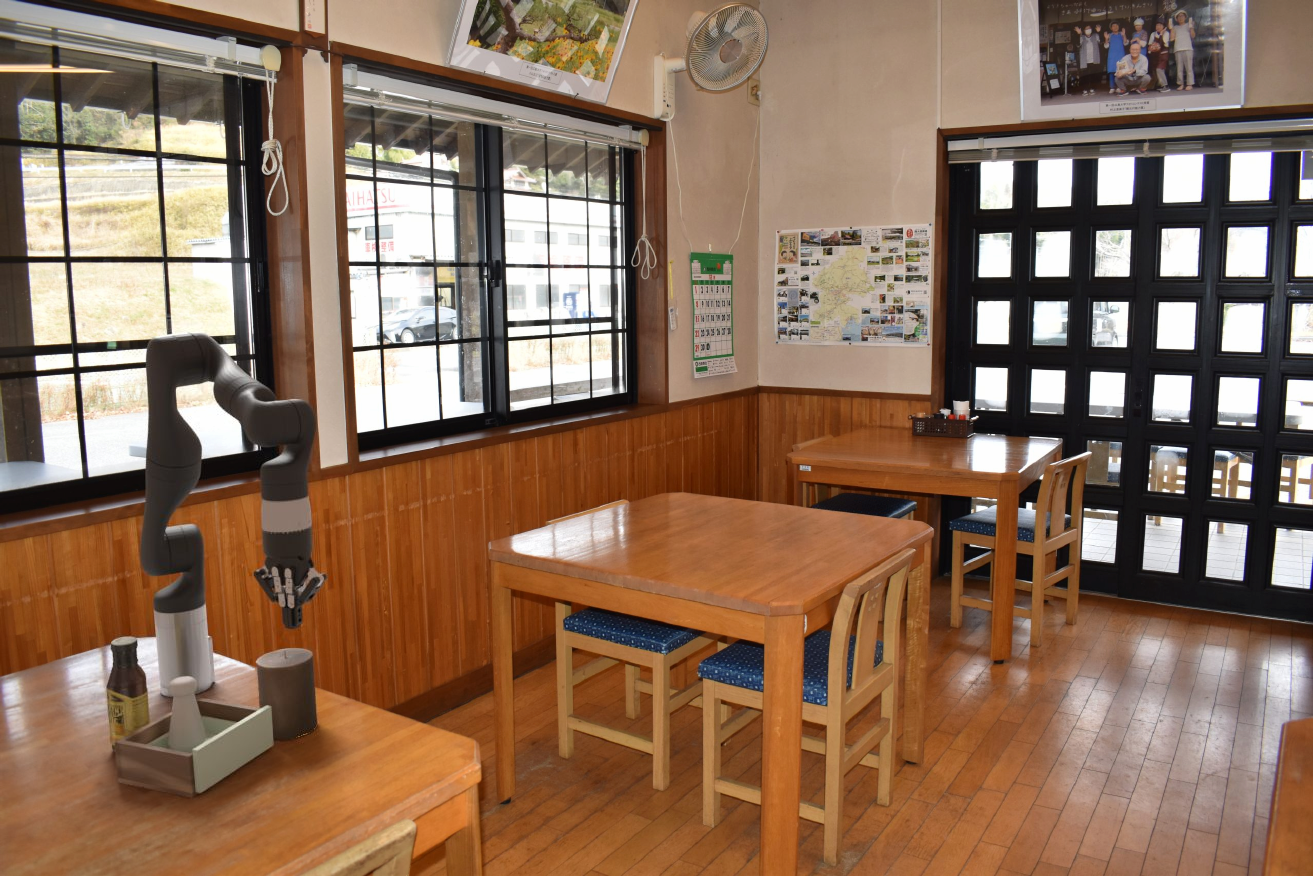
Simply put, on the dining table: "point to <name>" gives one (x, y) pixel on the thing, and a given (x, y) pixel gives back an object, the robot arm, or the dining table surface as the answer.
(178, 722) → the salt shaker
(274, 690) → the pillar candle
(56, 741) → the dining table surface
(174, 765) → the cabinet
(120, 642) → the sauce bottle
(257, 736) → the drawer
